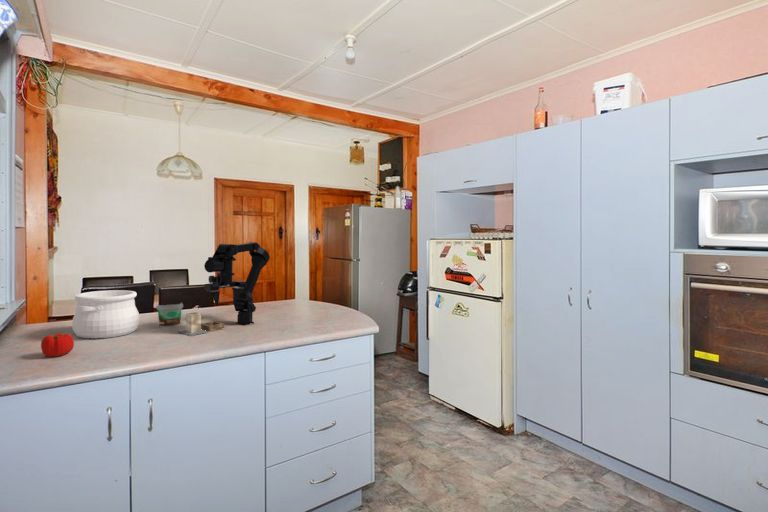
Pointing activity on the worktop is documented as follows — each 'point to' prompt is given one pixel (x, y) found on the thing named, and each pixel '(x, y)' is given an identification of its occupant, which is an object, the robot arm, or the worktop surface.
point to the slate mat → (193, 333)
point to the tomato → (57, 345)
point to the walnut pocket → (212, 326)
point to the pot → (105, 314)
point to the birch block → (193, 322)
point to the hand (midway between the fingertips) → (225, 303)
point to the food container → (169, 314)
